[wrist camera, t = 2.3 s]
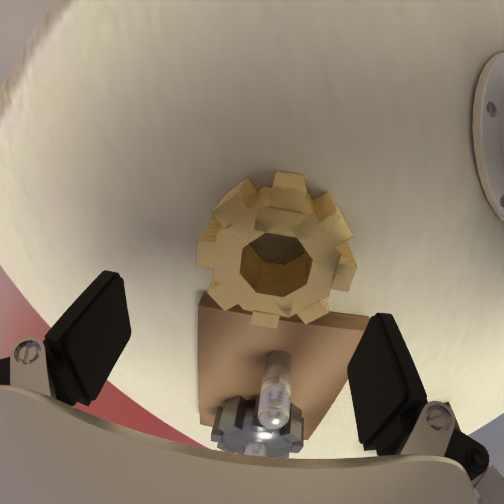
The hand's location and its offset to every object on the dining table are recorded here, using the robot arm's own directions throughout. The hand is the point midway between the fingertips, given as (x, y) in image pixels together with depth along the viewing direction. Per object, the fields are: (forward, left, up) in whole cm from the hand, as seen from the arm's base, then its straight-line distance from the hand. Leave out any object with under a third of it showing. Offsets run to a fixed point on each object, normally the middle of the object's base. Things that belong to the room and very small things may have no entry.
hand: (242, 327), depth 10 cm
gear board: (-2, +12, -7) cm, 14 cm away
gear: (-2, +16, -5) cm, 17 cm away
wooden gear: (-1, -1, -7) cm, 7 cm away
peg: (-2, +7, -5) cm, 10 cm away
